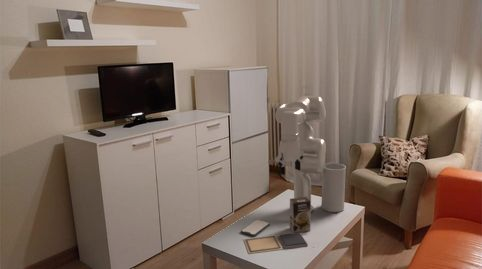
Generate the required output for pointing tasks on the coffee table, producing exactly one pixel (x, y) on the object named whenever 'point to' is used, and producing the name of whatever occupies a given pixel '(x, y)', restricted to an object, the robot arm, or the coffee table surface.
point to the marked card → (262, 244)
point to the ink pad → (292, 240)
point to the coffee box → (300, 214)
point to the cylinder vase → (333, 187)
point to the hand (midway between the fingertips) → (290, 171)
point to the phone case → (255, 228)
